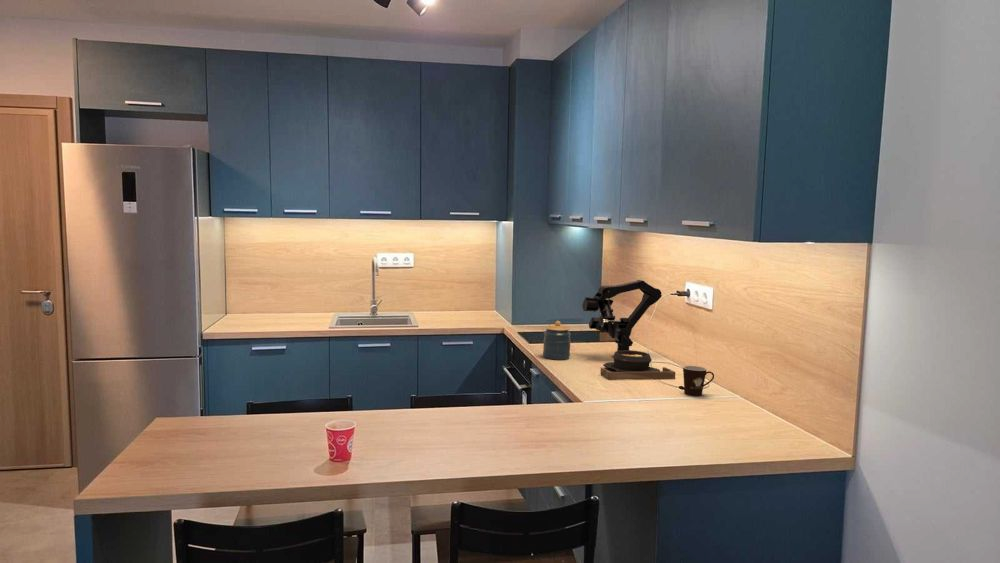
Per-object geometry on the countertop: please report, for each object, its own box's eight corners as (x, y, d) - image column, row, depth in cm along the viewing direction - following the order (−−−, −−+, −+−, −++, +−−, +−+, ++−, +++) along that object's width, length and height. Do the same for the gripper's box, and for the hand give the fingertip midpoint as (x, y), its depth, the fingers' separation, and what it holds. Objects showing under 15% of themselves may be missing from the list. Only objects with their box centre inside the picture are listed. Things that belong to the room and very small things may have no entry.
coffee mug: (681, 395, 244) (682, 369, 243) (681, 390, 252) (683, 365, 251) (713, 398, 240) (715, 372, 239) (712, 393, 248) (714, 368, 248)
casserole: (595, 371, 280) (596, 352, 280) (613, 364, 296) (614, 346, 295) (650, 380, 266) (652, 360, 266) (666, 373, 282) (667, 354, 281)
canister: (538, 355, 311) (540, 318, 309) (563, 354, 314) (565, 318, 313) (548, 360, 298) (550, 323, 297) (574, 360, 302) (576, 322, 301)
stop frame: (600, 374, 273) (600, 367, 273) (664, 373, 280) (665, 367, 280) (608, 379, 264) (609, 372, 264) (675, 378, 271) (675, 371, 271)
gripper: (618, 321, 315) (626, 347, 306) (582, 320, 311) (589, 347, 301) (626, 307, 307) (634, 334, 297) (589, 306, 303) (596, 333, 293)
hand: (613, 337), depth 297 cm, fingers closed
